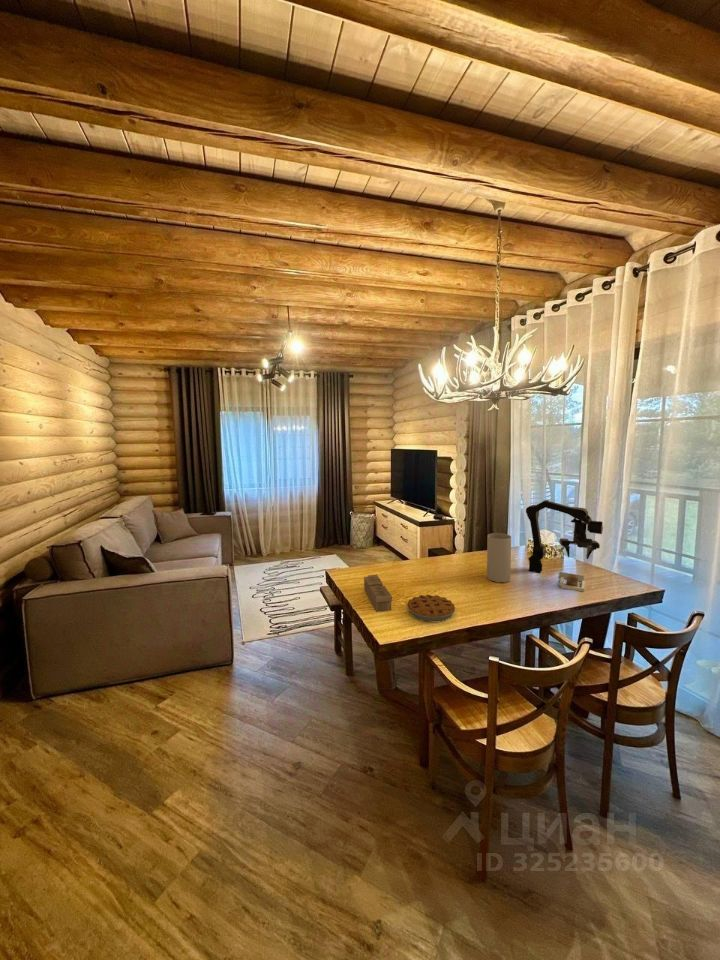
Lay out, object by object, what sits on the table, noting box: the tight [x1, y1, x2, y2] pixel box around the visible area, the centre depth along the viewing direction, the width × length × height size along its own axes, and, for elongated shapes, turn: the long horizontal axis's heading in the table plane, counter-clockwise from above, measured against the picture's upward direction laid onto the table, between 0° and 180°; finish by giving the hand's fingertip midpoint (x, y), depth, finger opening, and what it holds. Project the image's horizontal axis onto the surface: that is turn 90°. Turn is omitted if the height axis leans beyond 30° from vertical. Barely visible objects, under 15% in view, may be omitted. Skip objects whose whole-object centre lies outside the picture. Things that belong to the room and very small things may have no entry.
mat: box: [558, 571, 585, 583], centre depth 210 cm, size 12×10×1 cm
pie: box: [406, 594, 456, 622], centre depth 172 cm, size 22×22×5 cm
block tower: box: [363, 574, 393, 613], centre depth 186 cm, size 8×8×29 cm
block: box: [565, 572, 579, 587], centre depth 197 cm, size 5×5×6 cm
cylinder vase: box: [486, 532, 512, 583], centre depth 208 cm, size 12×12×25 cm
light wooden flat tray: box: [558, 577, 586, 592], centre depth 199 cm, size 11×13×2 cm
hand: (577, 558), depth 206 cm, fingers open, 9 cm apart
